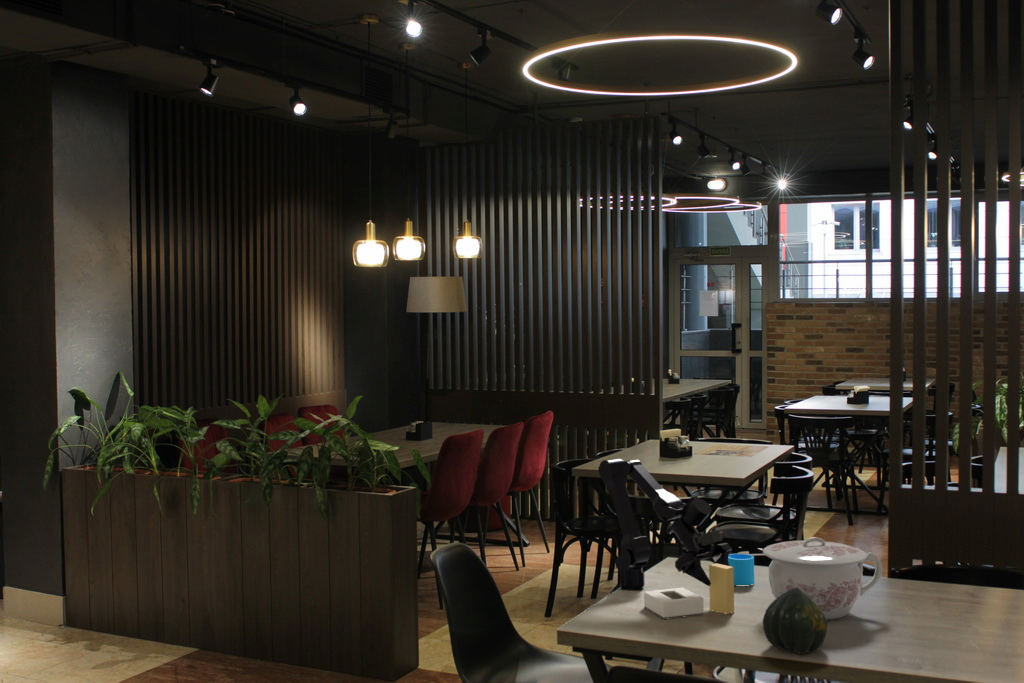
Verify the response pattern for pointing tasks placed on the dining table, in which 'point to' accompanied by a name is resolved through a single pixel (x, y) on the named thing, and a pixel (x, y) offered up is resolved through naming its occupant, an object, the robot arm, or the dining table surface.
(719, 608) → the block
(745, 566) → the mug
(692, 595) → the white slotted base
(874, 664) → the dining table surface
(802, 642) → the squash
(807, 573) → the chamber pot
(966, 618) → the dining table surface
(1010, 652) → the dining table surface
